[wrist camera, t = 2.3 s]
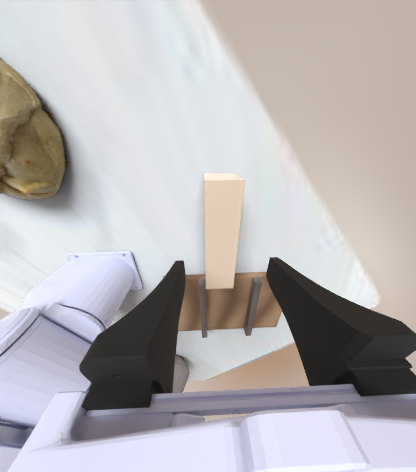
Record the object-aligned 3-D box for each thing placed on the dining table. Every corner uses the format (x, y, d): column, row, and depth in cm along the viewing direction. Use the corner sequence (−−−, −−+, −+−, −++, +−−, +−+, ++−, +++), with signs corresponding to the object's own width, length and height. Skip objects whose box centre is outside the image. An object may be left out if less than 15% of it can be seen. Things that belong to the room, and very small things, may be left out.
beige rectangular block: (205, 259, 24) (205, 288, 18) (203, 173, 18) (203, 180, 12) (226, 259, 24) (233, 288, 19) (232, 172, 18) (245, 180, 12)
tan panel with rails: (175, 326, 32) (173, 338, 30) (163, 275, 25) (160, 287, 23) (274, 322, 33) (279, 334, 30) (291, 271, 25) (299, 282, 23)
